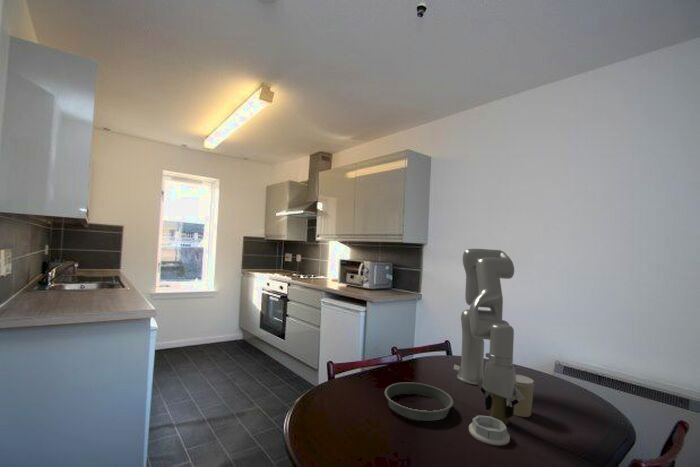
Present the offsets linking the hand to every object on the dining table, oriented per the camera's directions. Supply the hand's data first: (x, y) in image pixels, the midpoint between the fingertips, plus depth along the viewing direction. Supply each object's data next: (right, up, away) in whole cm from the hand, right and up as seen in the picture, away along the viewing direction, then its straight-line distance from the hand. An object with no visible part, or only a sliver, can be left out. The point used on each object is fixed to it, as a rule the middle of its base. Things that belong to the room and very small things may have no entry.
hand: (498, 412), depth 116 cm
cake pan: (-27, -2, +6) cm, 28 cm away
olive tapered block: (0, -3, 0) cm, 3 cm away
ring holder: (-8, -2, -10) cm, 12 cm away
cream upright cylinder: (+11, -4, +7) cm, 13 cm away
